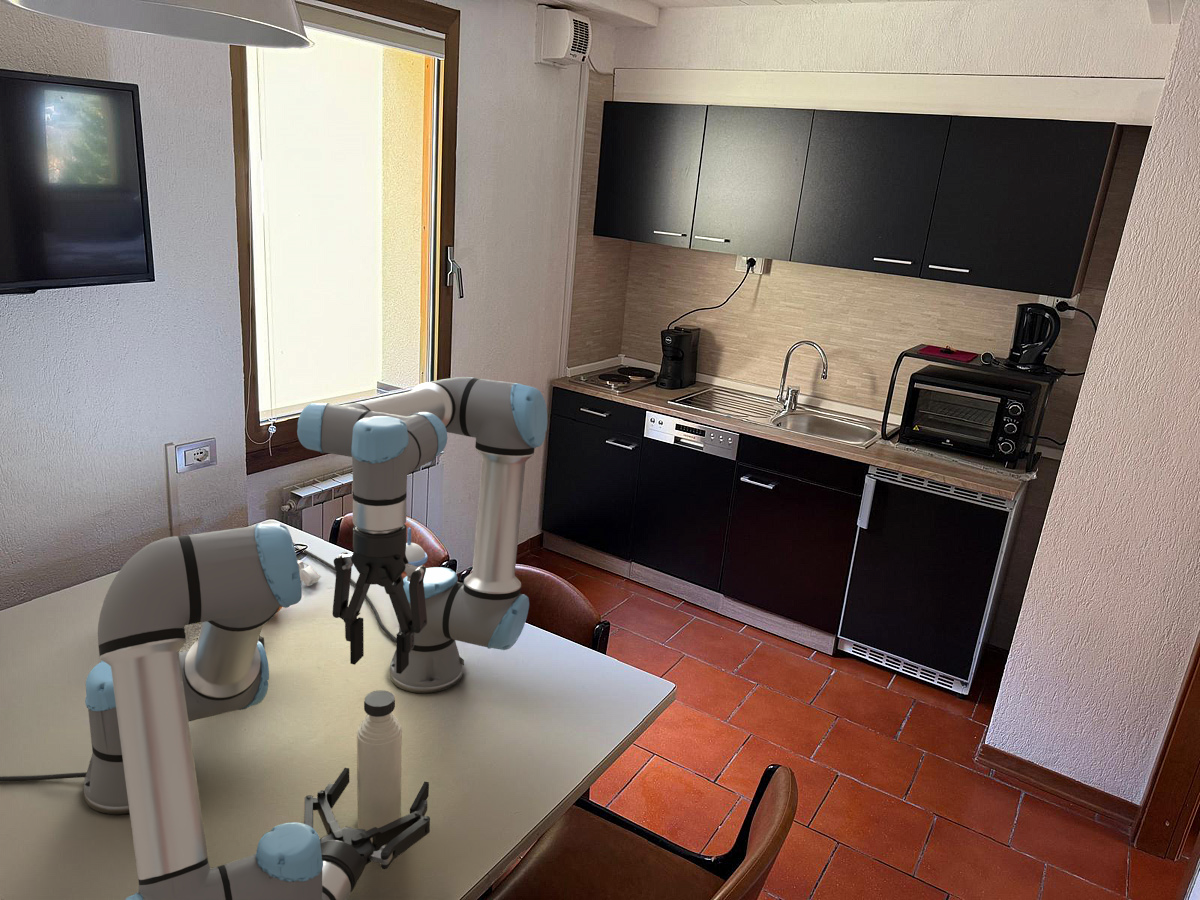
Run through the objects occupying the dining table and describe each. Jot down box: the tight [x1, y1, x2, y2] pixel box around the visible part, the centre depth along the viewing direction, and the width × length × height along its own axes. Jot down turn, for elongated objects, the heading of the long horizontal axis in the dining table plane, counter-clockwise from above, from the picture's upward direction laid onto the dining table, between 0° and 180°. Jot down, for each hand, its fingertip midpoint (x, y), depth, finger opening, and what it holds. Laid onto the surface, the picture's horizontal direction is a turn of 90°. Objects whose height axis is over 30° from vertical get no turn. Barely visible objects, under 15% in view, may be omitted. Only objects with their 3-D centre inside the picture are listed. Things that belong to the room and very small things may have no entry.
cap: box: [363, 689, 396, 717], centre depth 132 cm, size 5×5×2 cm
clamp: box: [297, 559, 322, 587], centre depth 219 cm, size 20×4×7 cm, turn 62°
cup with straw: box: [401, 527, 429, 579], centre depth 213 cm, size 9×9×18 cm
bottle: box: [356, 712, 403, 843], centre depth 135 cm, size 7×7×24 cm
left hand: (386, 781), depth 140 cm, fingers open, 13 cm apart
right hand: (379, 664), depth 130 cm, fingers open, 7 cm apart
